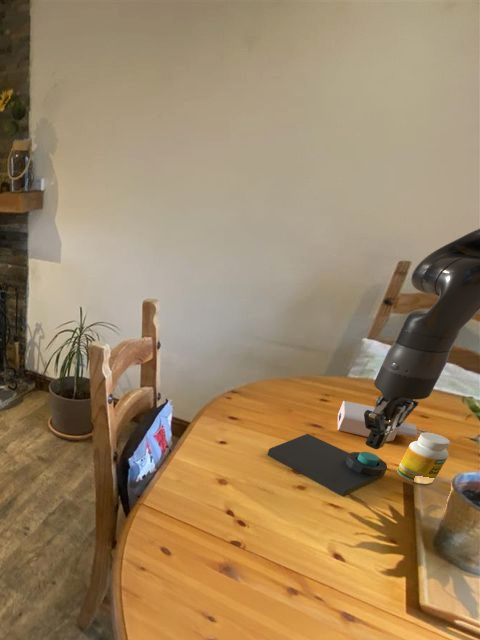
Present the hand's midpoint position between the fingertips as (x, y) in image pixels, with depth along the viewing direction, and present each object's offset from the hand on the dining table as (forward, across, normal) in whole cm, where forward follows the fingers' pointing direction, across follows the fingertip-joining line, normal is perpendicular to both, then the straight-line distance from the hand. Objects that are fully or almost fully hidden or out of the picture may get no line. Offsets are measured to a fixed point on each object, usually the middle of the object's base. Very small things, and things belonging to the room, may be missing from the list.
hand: (373, 446), depth 83 cm
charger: (+7, +20, +7) cm, 22 cm away
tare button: (+4, 0, 0) cm, 4 cm away
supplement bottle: (+7, +8, -5) cm, 12 cm away
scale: (+7, -4, +5) cm, 9 cm away
